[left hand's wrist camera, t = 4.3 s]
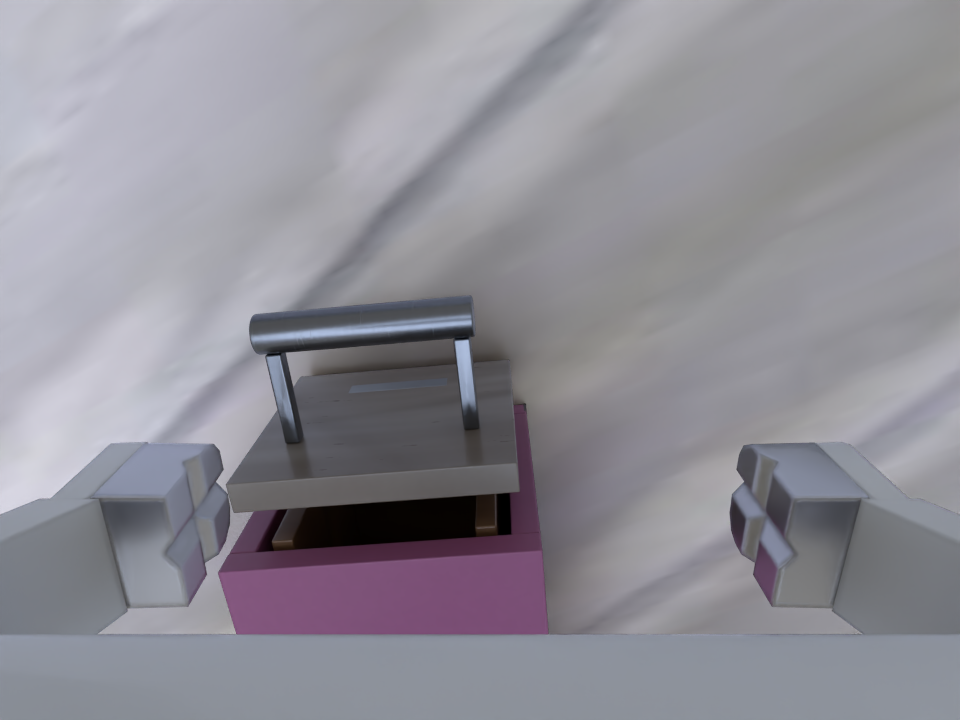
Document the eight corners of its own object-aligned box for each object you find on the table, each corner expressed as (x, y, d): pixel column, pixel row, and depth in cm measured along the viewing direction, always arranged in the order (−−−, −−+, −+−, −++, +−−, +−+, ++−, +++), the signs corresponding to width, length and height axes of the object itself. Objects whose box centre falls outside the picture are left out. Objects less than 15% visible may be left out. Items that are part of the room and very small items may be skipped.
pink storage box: (305, 421, 33) (216, 572, 22) (525, 403, 33) (542, 550, 22) (365, 698, 40) (320, 913, 30) (547, 687, 40) (568, 902, 29)
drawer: (278, 272, 29) (186, 346, 20) (500, 252, 29) (505, 318, 20) (361, 659, 38) (321, 828, 29) (533, 648, 37) (547, 818, 28)
